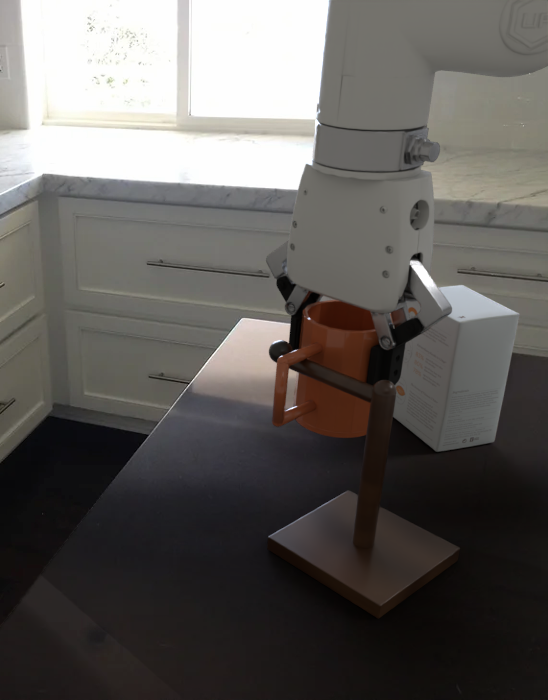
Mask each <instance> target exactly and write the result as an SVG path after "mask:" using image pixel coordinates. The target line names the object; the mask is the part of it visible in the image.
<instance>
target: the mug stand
mask: <svg viewBox="0 0 548 700" xmlns="http://www.w3.org/2000/svg"><path fill="white" fill-rule="evenodd" d="M290 352H293V350H292V347H291V345H290V344H289V341H287V340H283V339H278V340H276V341H273V342H272V343H271V345H270V346H269V348H268V356H269V358H270V359H271V360H272V361H273V362H274V363H275V364H277V359H278V358H279V357H280V356H283V355H285V354H288V353H290ZM289 370H292V371H294V372H296V373H297V372H298V373H300V374H303V375H305V376H308V377H310V378H312V379H315V380H317V381H319V382H322V383H324V384H327V385H329V386H331V387H334V388H336V389H338V390H341V391H343V392H346V393H348V394H350V395H353V396H355V397H357V398H360V399H362V400H364V401H367V402H369V403H370V410H369V417H368V425H367V432H366V435H365V439H364V440H365V441H364V447H363V448H364V449H363V456H362V463H361V470H360V477H359V485H358V492H357V494H356V493H355V492H353V491H351V490H346V491H345V492H343V493H341V494H340V495H338V496H336V497H335V498H333V499H331V500H329V501H328V502H325V503H324V504H321V506H319V507H317V508H315V509H313V510H312V511H310V512H308V513H307V514H305V515H302V516H301V517H300V518H298V519H296V520H294V521H293V522H291V523H289V524H288V525H286V526H284V527H283V528H281V529H279V530H277V531H276V532H274V533H272V534H270V535H268V537H267V546H266V549H267V550H268V551H269V552H271V553H273V554H274V555H276V556H277V557H279V558H280V559H282V560H283V561H285V562H286V563H289V564H290V565H292V566H293V567H294V568H296V569H298V570H300V571H301V572H303V573H305V574H306V575H307V576H309V577H310V578H312V579H313V580H315V581H317V582H318V583H320V584H322V585H323V586H325V587H327V588H328V589H330V590H332V591H333V592H334V593H336V594H337V595H339V596H341V597H343V598H344V599H346V600H347V601H349V602H350V603H352V604H354V605H356V606H357V607H358V608H360V609H362V610H364V611H365V612H367V614H370V615H371V616H373V618H376V619H381V618H382V617H383V616H385V615H386V614H387V613H389V612H390V611H391V610H392V609H394V608H395V607H397V606H398V605H399V604H401V603H402V602H403V601H405V600H406V599H408V598H409V597H410V596H411V595H413V594H415V593H416V592H417V591H418V590H420V589H422V587H424V586H425V585H427V584H428V583H430V582H431V581H432V580H433V579H435V578H436V577H438V576H439V575H441V574H442V573H443V572H444V571H446V570H447V569H448V568H450V567H452V565H454V564H455V563H456V562H458V561H459V557H460V552H461V548H460V547H459V546H457V545H456V544H453V543H451V542H449V541H447V540H446V539H444V538H442V537H440V536H438V535H437V534H434V533H432V532H430V531H428V530H426V529H424V528H422V527H420V526H419V525H416V524H414V523H412V522H411V521H409V520H407V519H405V518H403V517H401V516H399V515H397V514H395V513H393V512H391V510H390V511H389V510H388V509H385V508H384V507H382V506H381V500H382V494H383V487H384V479H385V472H386V468H387V467H386V466H387V460H388V453H389V447H390V446H389V445H390V438H391V432H392V426H393V420H394V419H393V418H394V417H393V413H394V406H395V399H396V387H395V385H394V384H393V383H392V382H390V381H388V380H380V381H378V382H376V383H375V384H374V386H373V385H370V384H368V383H365V382H363V381H360V380H358V379H355V378H353V377H350V376H348V375H346V374H343V373H341V372H338V371H336V370H333V369H331V368H328V367H326V366H323V365H321V364H318V363H316V362H313V361H311V360H308V359H305V360H303V361H300V362H298V363H295V364H293V365H291V366H289Z"/></svg>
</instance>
